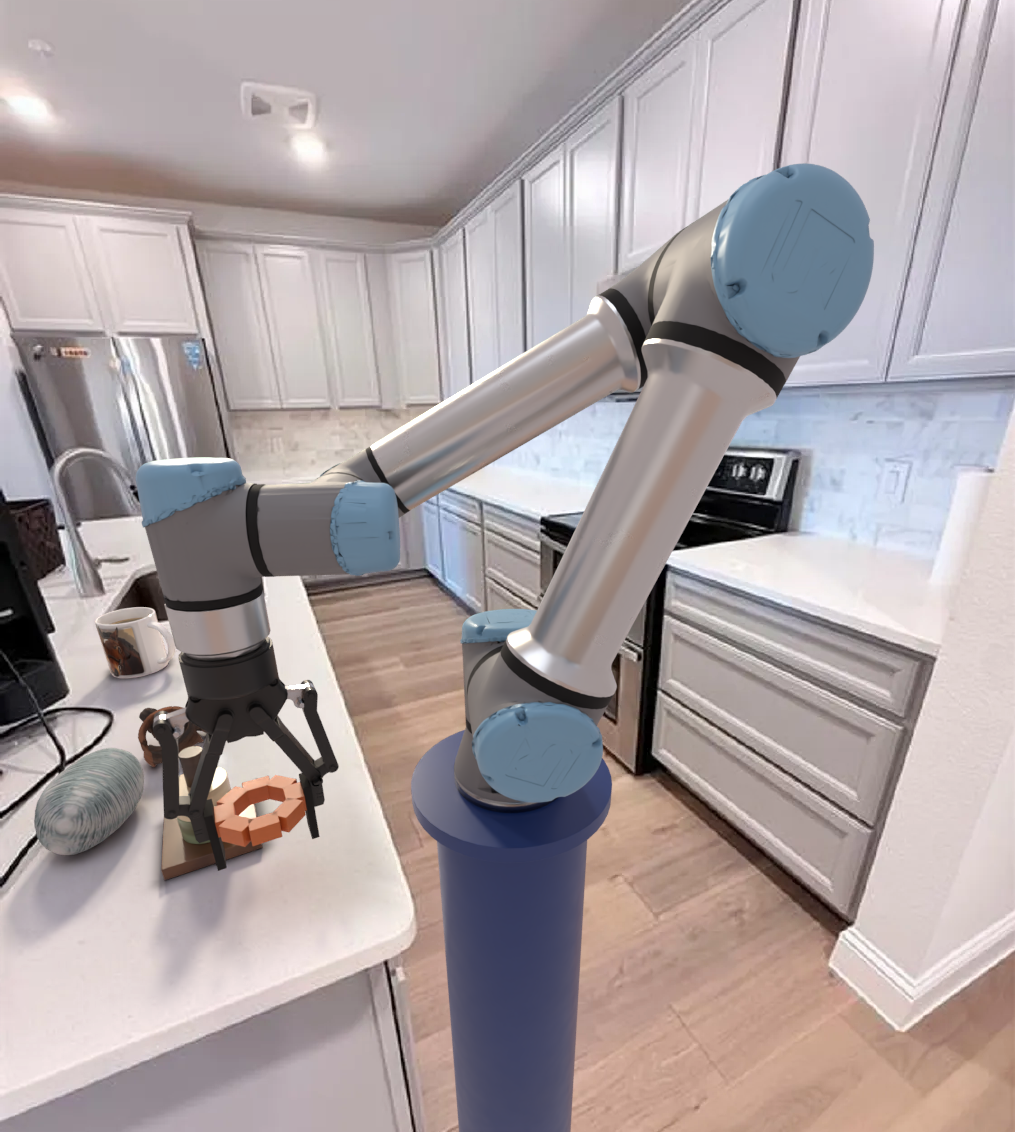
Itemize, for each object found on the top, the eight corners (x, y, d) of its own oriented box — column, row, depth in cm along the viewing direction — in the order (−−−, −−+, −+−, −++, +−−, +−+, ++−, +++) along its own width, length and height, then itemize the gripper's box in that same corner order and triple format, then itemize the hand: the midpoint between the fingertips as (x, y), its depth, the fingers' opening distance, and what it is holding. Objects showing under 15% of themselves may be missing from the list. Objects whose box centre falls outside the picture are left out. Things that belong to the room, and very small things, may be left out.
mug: (164, 652, 117) (151, 602, 113) (182, 669, 109) (169, 617, 105) (105, 667, 110) (89, 615, 106) (120, 687, 102) (103, 632, 98)
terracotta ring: (298, 780, 61) (295, 767, 60) (312, 827, 54) (310, 812, 54) (215, 804, 57) (212, 790, 57) (219, 857, 51) (215, 841, 50)
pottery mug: (233, 738, 87) (213, 712, 80) (189, 790, 82) (164, 768, 75) (173, 708, 90) (149, 681, 83) (127, 757, 84) (97, 733, 78)
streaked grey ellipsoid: (79, 767, 74) (84, 719, 69) (156, 787, 77) (166, 742, 72) (8, 862, 63) (7, 814, 58) (100, 881, 66) (108, 836, 61)
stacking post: (253, 798, 73) (235, 719, 68) (262, 847, 65) (242, 762, 60) (166, 824, 69) (141, 742, 64) (164, 880, 60) (134, 791, 56)
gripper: (337, 610, 56) (360, 792, 65) (86, 651, 47) (152, 857, 56) (356, 635, 50) (379, 832, 59) (71, 688, 41) (149, 912, 50)
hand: (269, 844), depth 57 cm, fingers closed on terracotta ring, 8 cm apart
